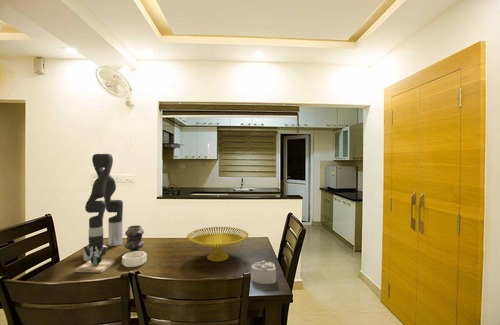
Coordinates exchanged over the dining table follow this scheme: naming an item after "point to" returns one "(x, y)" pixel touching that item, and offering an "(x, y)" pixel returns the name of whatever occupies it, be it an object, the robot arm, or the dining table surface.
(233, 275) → the dining table surface
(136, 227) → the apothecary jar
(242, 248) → the dining table surface
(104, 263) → the lid
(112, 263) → the mat
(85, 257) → the medicine box
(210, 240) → the cake stand
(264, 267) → the lumpy-topped squat cylinder
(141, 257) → the bowl
